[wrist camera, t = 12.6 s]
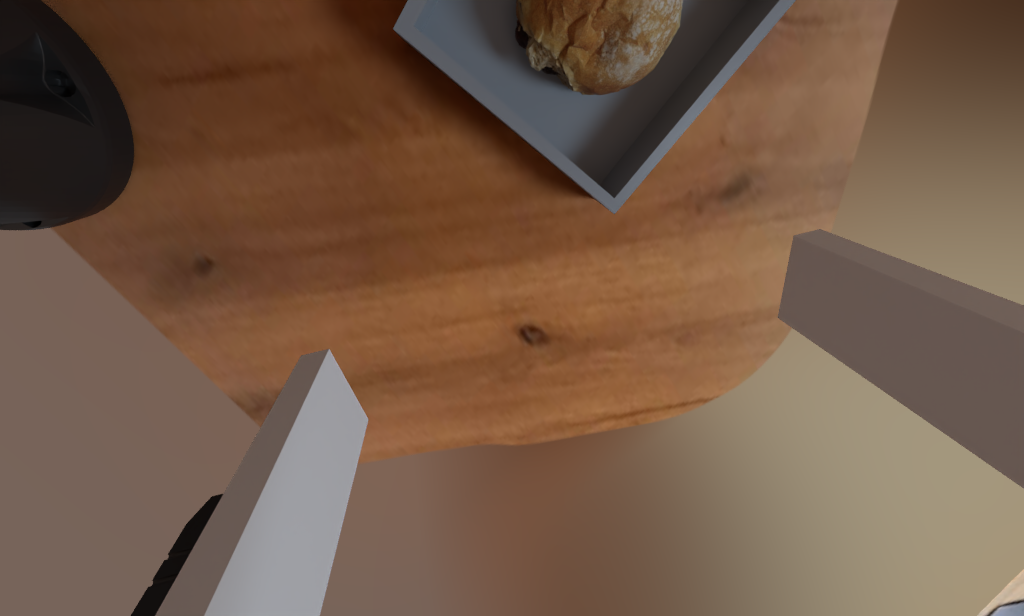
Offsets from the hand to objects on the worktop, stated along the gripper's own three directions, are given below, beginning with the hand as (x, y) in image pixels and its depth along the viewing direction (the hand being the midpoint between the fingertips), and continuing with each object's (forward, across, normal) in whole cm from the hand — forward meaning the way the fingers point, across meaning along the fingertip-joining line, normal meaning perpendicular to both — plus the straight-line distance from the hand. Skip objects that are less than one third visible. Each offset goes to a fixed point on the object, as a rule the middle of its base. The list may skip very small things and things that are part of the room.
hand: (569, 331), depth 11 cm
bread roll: (+21, +8, +9) cm, 25 cm away
